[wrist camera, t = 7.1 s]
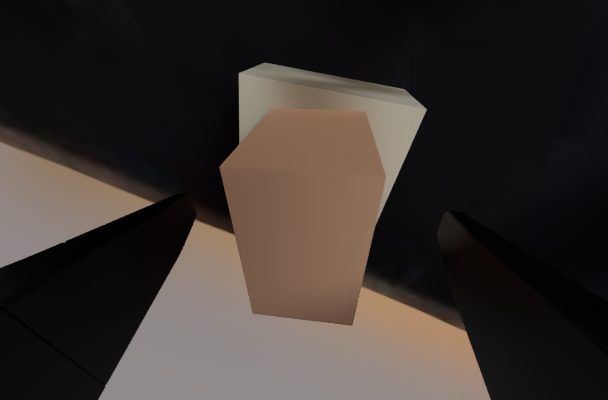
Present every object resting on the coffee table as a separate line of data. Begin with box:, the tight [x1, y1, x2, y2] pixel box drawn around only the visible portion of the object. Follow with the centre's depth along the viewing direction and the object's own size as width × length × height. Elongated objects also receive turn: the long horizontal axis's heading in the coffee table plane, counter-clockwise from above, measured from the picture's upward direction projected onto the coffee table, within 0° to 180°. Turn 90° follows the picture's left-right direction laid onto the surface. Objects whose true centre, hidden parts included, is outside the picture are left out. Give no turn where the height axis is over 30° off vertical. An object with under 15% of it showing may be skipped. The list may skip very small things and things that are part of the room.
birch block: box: [239, 63, 427, 225], centre depth 12 cm, size 7×7×4 cm
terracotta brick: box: [220, 108, 386, 325], centre depth 9 cm, size 4×6×5 cm, turn 0°
